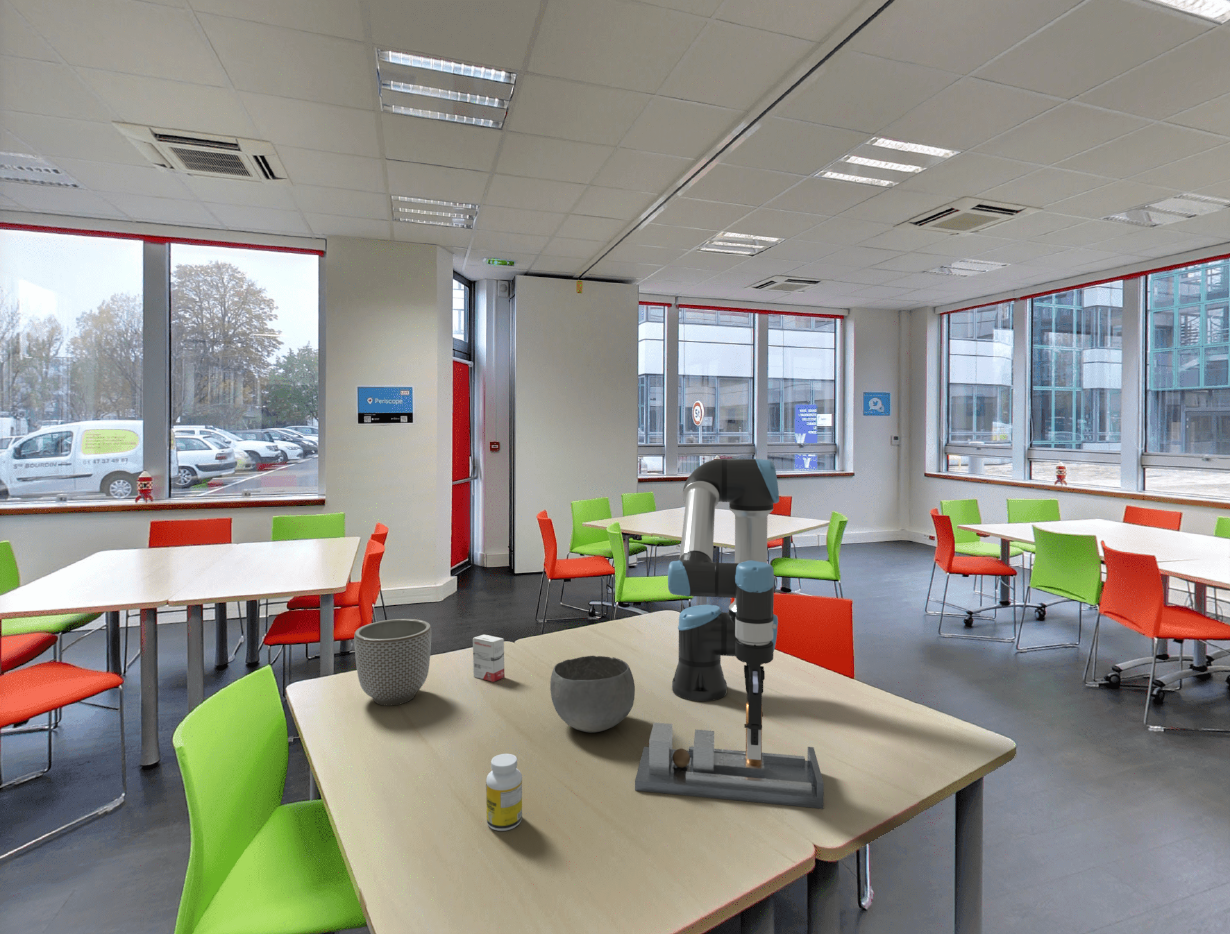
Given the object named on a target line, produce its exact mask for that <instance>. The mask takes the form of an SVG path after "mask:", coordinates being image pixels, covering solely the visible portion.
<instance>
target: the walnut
mask: <svg viewBox="0 0 1230 934" xmlns="http://www.w3.org/2000/svg"><path fill="white" fill-rule="evenodd" d="M686 750H687V749H684V748H678V749H676V751H675V752H674V754H673V762H674V764H675V765H676V766H677V767H680V768H684V767H686V766H687V765H688V764H689V762H690V755H689V753H688V752H687V751H686Z"/></svg>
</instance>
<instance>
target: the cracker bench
mask: <svg viewBox="0 0 1230 934" xmlns="http://www.w3.org/2000/svg"><path fill="white" fill-rule="evenodd" d="M648 743H649V744H648V746H643V749H642V753H641V757H640V760H639V764H638V768H637V772H636V775H635V779H634V791H637V792H649V793H659V794H667V795H679V796H689V797H699V798H707V799H709V798H710V799H719V800H720V799H721V800H729V801H738V802H739V801H740V802H750V803H761V804H769V805H779V806H780V805H781V806H790V807H791V806H792V807H793V806H794V807H802V808H812V809H821V810H823V809H824V797H825V796H824V790H825V786H824V785H825V783H824V780H823V777H822V776H823V775H822V773H821V772H822V771H821V769H820V766H819V762H818V758H817V754H816V751H815V747H813V746H807V757H805V756H804V755H795V754H794V755H793V754H783V753H782V754H781V753H772V752H762V757H763V761H764V779H763V778H752V777H741V776H730V775H719V774H708V773H697V772H693V746H689V747H688V750H687V749H685V750H686V751H687V752H688V753H689V755H690V762H689V764H688V765H687V766H686V767H684V768H680V767H677V766H676V765H675V764H674V762H673V754H674V752H675V751H676V750H677V749H676V748H675V749H674V748H673V724H672V723H665V722H663V723H662V722H661V723H660V722H653V724H652V729H651V732H650V735H649V740H648ZM714 753H726V754H737V755H746V750H745V751H744V750H736V749H735V750H734V749H722V748H714ZM806 759H807V760H806Z"/></svg>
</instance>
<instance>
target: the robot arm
mask: <svg viewBox="0 0 1230 934" xmlns="http://www.w3.org/2000/svg"><path fill="white" fill-rule="evenodd" d="M692 471H693V470H692ZM779 493H780V492H779V484H778V477H777V471H776V466H775V463H774V462H773V461H772V460H769V459H763V458H762V459H761V458H734V459H732V458H731V459H729V458H728V459H727V458H726V459H725V458H724V459H723V458H716V459H711V460H709V461H708V460H707V461H706V462H703V463H702V464H701V465H699V466H698V467H697V468H696V469H694V471H693V472H691V474H690V475H689V476H688V478H687V479H686V481H685V483H684V485H683V490H682V501H683V503H684V506H685V507H684V516H683V521H682V522H683V524H682V532H681V543H680V551H679V558H678V560H673V561H670V563H669V564H668V569H667V589H668V592H669V593H670V594H671V595H673V596H674V595H675V596H681V597H682V596H683V597H703V598H706V597H708V598H729V599H734V601H733V602H732V603H731V604H729V606H728V612H727V611H726V612H725V611H724V612H722V609H721V607H720V606H719V605H716V604H715V605H713V604H700V605H692V606H689V607H686V608H684V609H682V611H681V612H680V613H679V616H678V625H677V629H678V663H677V666H676V669H675V672H674V676H673V679H672V682H671V683H672V684H671V690H672V692H673V694H674V695H676V696H677V697H679V698H681V699H685V700H689V701H693V702H710V701H716V700H720V699H722V698H724V697H726V695H727V693H728V690H727V689H728V684H727V681H726V679H725V675H724V672H723V669H722V665H721V664H722V663H721V660H722V659H721V656H723V657H735V658H736V659H737V661H740V662H742V663H745V664H743V673H744V674H743V675H744V676H743V677H744V683H745V691H746V702H748V724H746V723H744V724H743V725H744V727H743V728H745V729H746V728H747V759H756V760H761V729H762V730H763V717H764V712H763V694H764V680H766V679H765V677H766V676H765V675H766V673H765V666H763V665H765V664H766V665H767V664H770V663H771V662H772V661H773V660H774V653H775V649H776V643H777V637H778V636H777V635H778V625H779V621H778V620H779V618H778V615H776V614H775V613H774V603H775V601H774V599H775V598H774V597H775V593H774V592H775V590H774V589H775V587H774V586H775V581H776V580H775V573H774V567H773V566H772V565H771V564H770V563H768V516H769V515H770V514H771V513H772V511H774V504H775V505H776V504H778V503H779V502H780V495H779ZM719 502H720V503H721V502H722V503H729V507H728V508H729V511H731V512H732V513H733V515H734V562H717V561H715V562H713V559H714V558H713V555H714V537H715V536H714V534H715V514H716V506H717V505H718V504H719Z"/></svg>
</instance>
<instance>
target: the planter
mask: <svg viewBox="0 0 1230 934" xmlns="http://www.w3.org/2000/svg"><path fill="white" fill-rule="evenodd" d="M353 636H354V637H353V641H354V642H353V644H354V653H355V654H354V655H355V666H356V672H357V673H356V674H357V678H358V682H359V685H360V687H361V689H362V691H363V692H364V693H365V694H366V695H367V696H369V697H370V698H372V700H373V701H374V702H375V704H377V705H380V706H398V705H402V704H405V703H408V702H409V701H411V700H412V699H413V698H414V697H415V695H416V693H417V692H418V691H419V690H420V689H421V688H422V687H423V685H424V684H425V682H426V680H427V678H428V675H429V669H430V661H431V648H432V645H431V643H432V626H431V624H430V623H429V622H428V621H425V620H422V619H414V618H394V619H386V620H385V619H384V620H380V621H376V622H370V623H368V624H365V625H363V626H360V627H358V628H357V629H356V630H355V632H354V635H353Z"/></svg>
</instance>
